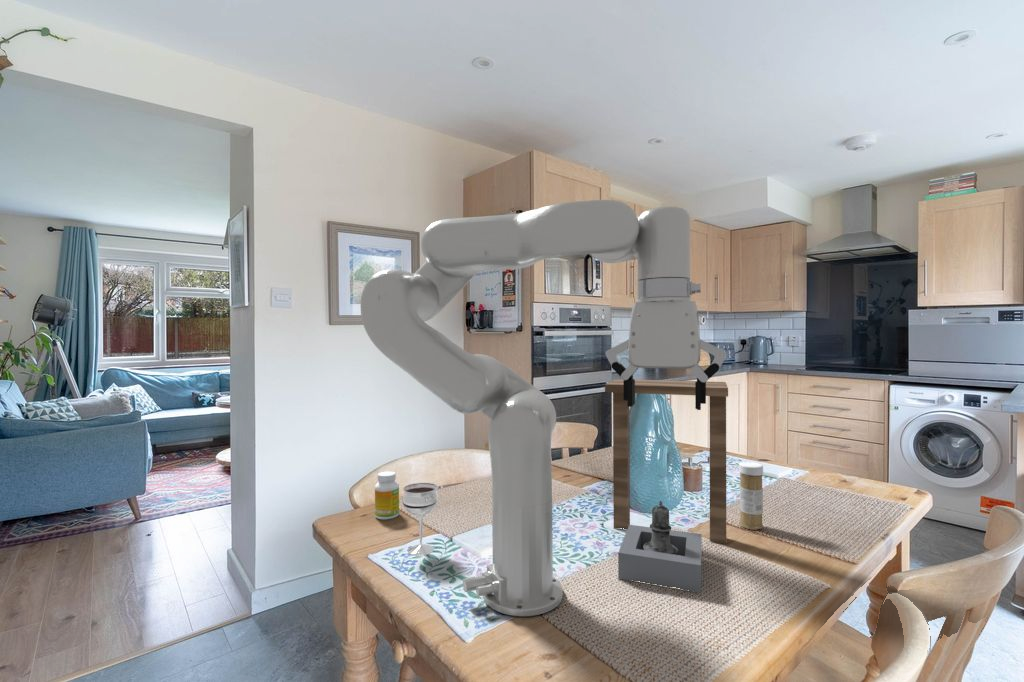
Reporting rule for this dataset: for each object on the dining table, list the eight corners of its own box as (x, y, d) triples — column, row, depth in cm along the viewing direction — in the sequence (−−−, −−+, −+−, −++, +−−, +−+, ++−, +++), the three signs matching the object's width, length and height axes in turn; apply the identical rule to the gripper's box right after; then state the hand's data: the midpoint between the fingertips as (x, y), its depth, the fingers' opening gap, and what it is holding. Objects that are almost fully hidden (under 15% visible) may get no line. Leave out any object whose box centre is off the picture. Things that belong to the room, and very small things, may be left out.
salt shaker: (680, 578, 83) (680, 507, 82) (644, 574, 84) (643, 505, 84) (676, 562, 88) (676, 496, 88) (642, 559, 90) (642, 494, 89)
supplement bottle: (395, 520, 110) (395, 476, 109) (372, 520, 110) (371, 476, 110) (401, 511, 115) (401, 470, 115) (378, 511, 115) (378, 470, 115)
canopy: (728, 563, 88) (728, 388, 87) (605, 545, 96) (604, 384, 95) (725, 537, 99) (725, 382, 98) (615, 523, 107) (615, 379, 106)
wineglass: (444, 552, 93) (443, 489, 93) (409, 561, 90) (409, 495, 89) (431, 539, 99) (430, 480, 99) (398, 547, 95) (397, 486, 95)
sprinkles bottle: (752, 521, 107) (752, 460, 107) (768, 529, 103) (768, 465, 103) (734, 523, 106) (734, 461, 106) (749, 531, 102) (749, 467, 102)
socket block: (701, 593, 78) (701, 565, 78) (618, 579, 82) (618, 552, 82) (701, 558, 90) (701, 534, 90) (629, 547, 95) (629, 524, 94)
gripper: (725, 292, 73) (725, 406, 74) (610, 296, 80) (610, 401, 80) (727, 288, 66) (728, 414, 67) (600, 293, 73) (601, 407, 73)
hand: (663, 407), depth 73 cm, fingers open, 9 cm apart
